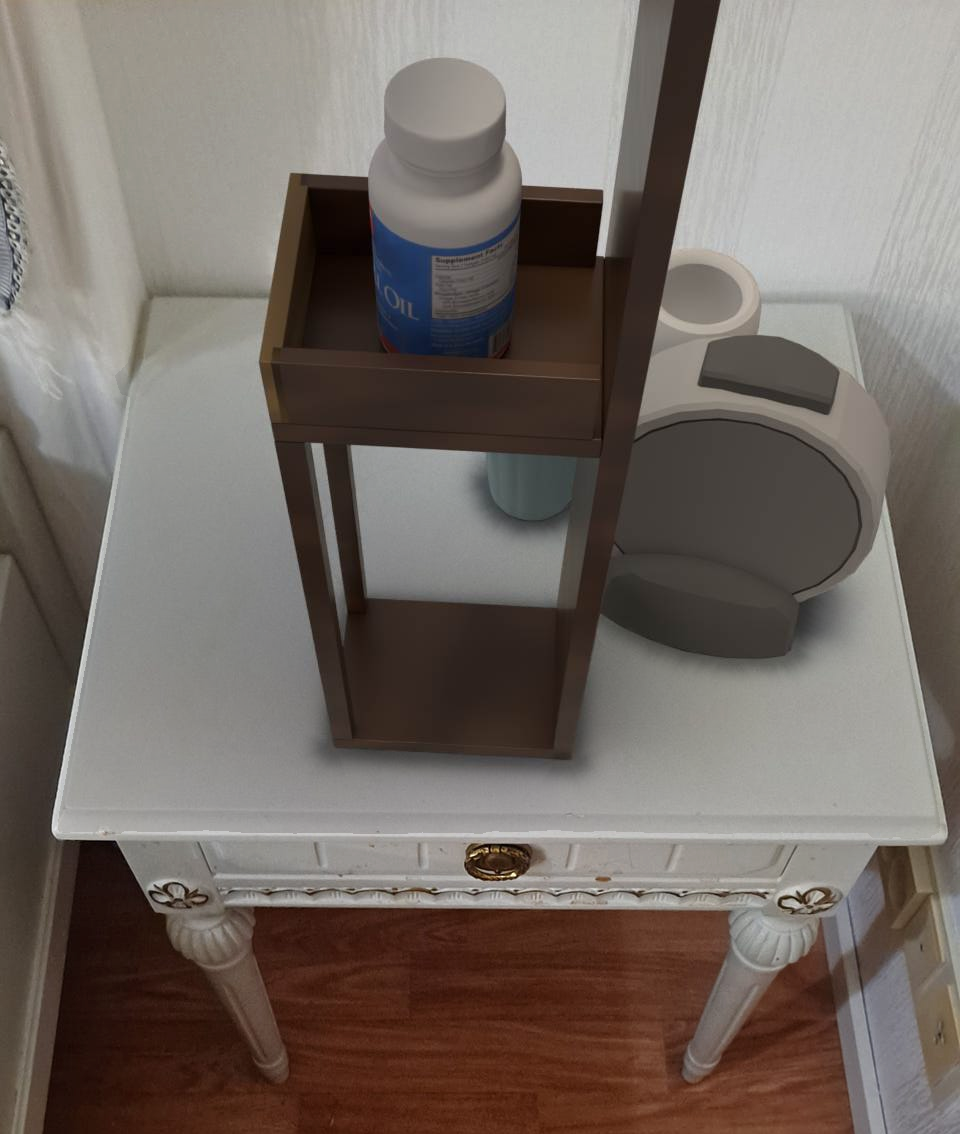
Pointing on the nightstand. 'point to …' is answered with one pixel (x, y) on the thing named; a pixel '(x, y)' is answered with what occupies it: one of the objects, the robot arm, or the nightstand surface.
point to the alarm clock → (743, 494)
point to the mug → (706, 299)
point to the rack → (481, 421)
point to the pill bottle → (445, 213)
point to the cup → (530, 483)
